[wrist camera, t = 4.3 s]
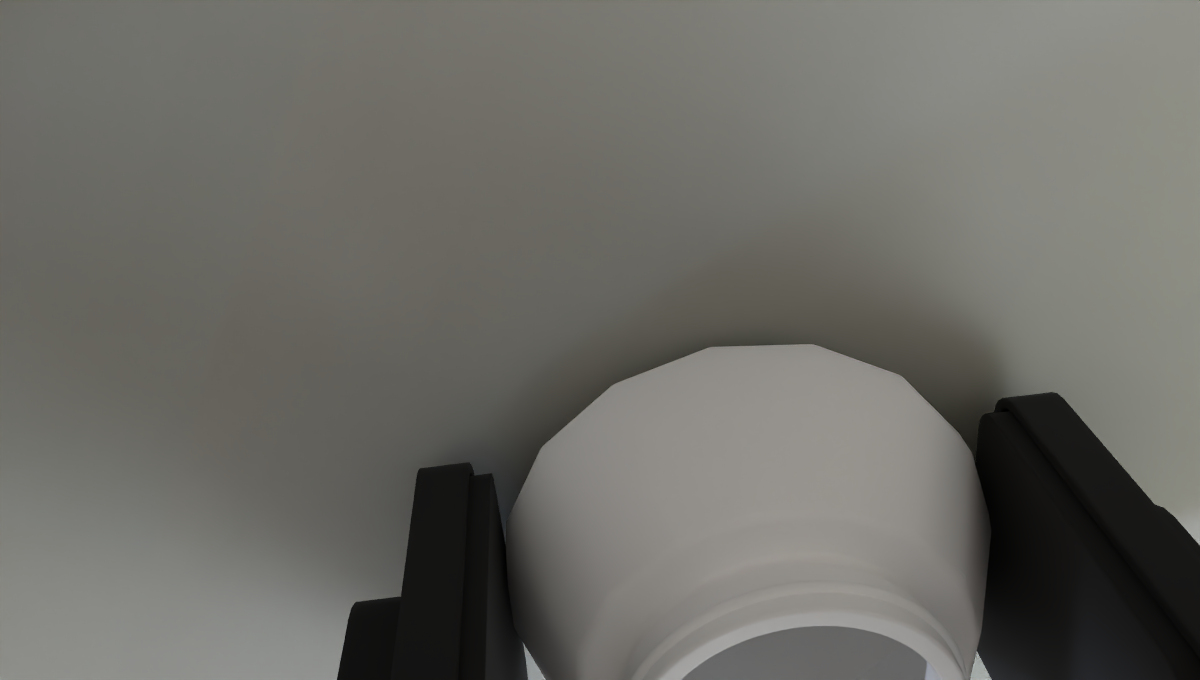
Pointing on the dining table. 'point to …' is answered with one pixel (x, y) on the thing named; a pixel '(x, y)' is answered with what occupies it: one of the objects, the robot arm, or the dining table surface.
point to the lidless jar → (752, 528)
